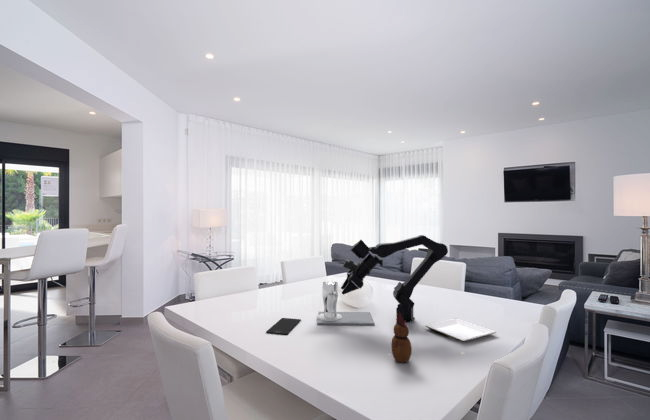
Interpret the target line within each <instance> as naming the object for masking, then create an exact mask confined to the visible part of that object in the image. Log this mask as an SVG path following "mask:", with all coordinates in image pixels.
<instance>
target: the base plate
mask: <svg viewBox="0 0 650 420" xmlns="http://www.w3.org/2000/svg"><path fill="white" fill-rule="evenodd" d="M336 312H337V317H336V318H333V319H328V318H324V317H323V315H324V311H318V314H317V316H316V317H317V321H316V322H317V323H316V326H376V325H375V321H374V318H373V316H372V314H371V312H370V311H336Z"/></svg>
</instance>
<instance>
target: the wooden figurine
mask: <svg viewBox="0 0 650 420" xmlns="http://www.w3.org/2000/svg"><path fill="white" fill-rule="evenodd" d="M396 318H397V320H396V319H395V320H396V324H394V327H393V334H394V335H393V337H392V338H391V343H390V344H391V353H392V357H393V359H394V361H396V362H399V363H400V364H401V363H403V364H404V363H407V362H409V361H410V359H411V355H412V350H413V349H412V343H411V340H410V338H409V337H408V336H409V333H410V331H409V326H408V325H407V324H406V321H403V318H401V314H400V317H399V314H398V311H397V317H396Z"/></svg>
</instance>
